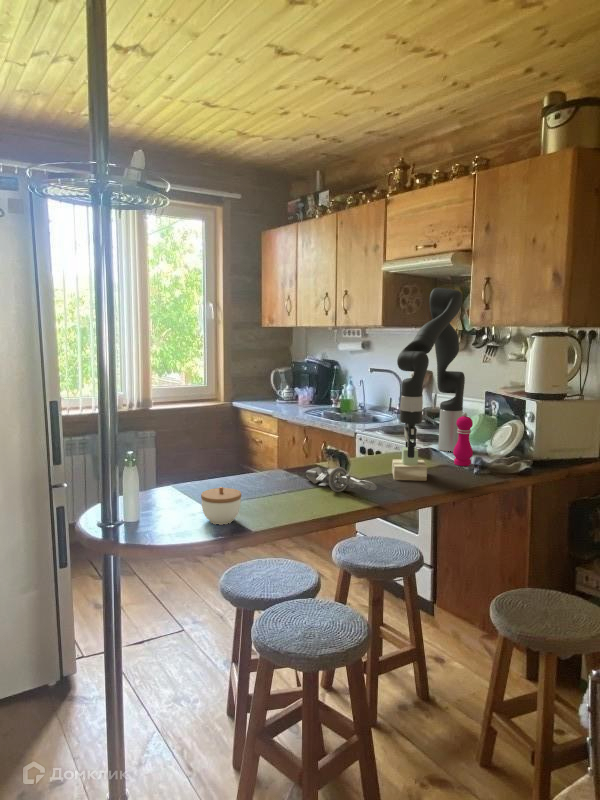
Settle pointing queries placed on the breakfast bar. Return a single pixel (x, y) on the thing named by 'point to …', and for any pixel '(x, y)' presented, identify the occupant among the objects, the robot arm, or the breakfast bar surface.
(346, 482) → the spaceship
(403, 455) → the green cube
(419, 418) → the robot arm
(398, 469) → the birch block
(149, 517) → the breakfast bar surface
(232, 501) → the lidded jar
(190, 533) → the breakfast bar surface
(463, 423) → the pepper mill
